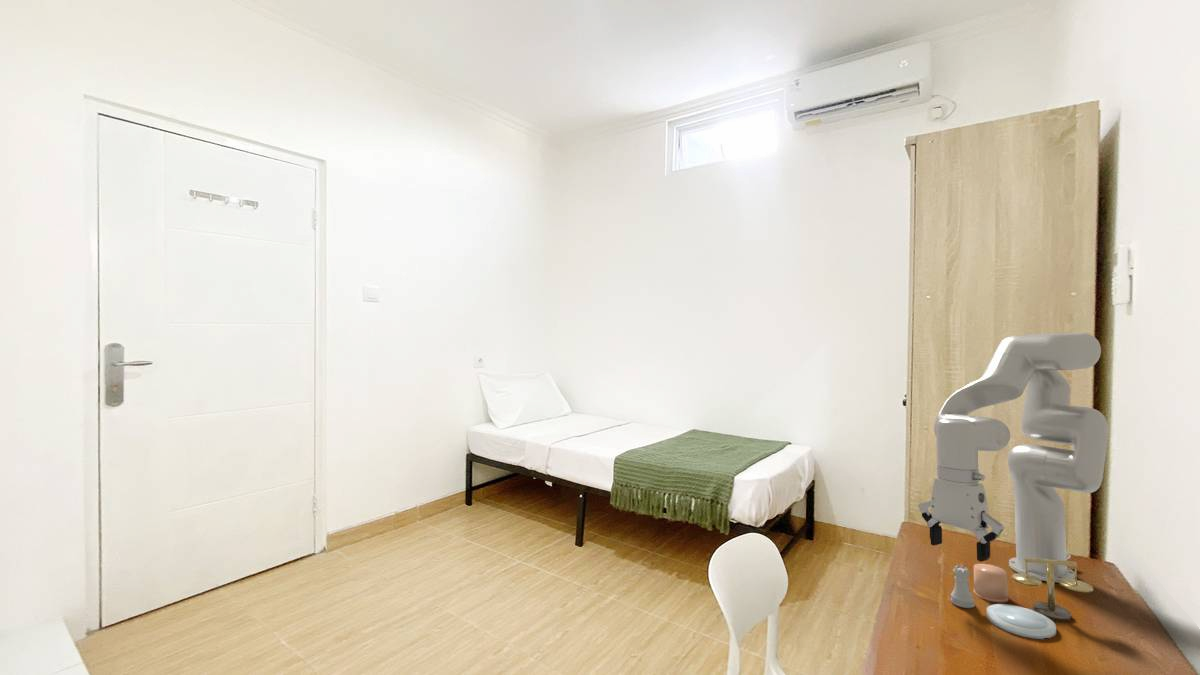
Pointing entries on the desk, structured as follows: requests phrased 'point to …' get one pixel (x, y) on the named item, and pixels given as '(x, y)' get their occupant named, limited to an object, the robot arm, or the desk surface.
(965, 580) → the rook chess piece
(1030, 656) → the desk surface
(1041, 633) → the dish
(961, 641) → the desk surface
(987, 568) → the peach dome knob
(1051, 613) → the balance
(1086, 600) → the desk surface
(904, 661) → the desk surface
